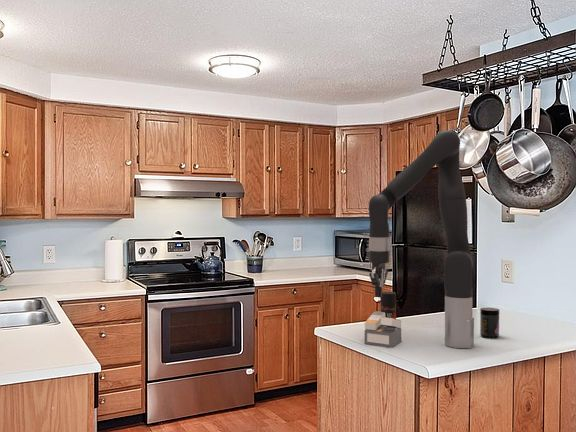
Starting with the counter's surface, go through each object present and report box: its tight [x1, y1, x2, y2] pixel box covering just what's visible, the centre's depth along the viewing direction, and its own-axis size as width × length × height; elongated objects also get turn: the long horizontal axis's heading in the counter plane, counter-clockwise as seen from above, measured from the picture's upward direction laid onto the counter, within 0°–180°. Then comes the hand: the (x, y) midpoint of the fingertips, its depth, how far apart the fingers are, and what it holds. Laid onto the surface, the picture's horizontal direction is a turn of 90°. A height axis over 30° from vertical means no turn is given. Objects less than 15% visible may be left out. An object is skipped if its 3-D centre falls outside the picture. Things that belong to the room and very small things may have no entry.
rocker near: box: [381, 317, 402, 328], centre depth 190 cm, size 4×10×3 cm, turn 149°
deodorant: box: [380, 291, 397, 327], centre depth 210 cm, size 6×6×15 cm
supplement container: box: [479, 307, 500, 340], centre depth 200 cm, size 7×7×10 cm
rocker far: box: [364, 310, 385, 330], centre depth 193 cm, size 4×10×3 cm, turn 149°
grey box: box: [364, 325, 402, 349], centre depth 191 cm, size 10×10×6 cm
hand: (378, 296), depth 196 cm, fingers closed
